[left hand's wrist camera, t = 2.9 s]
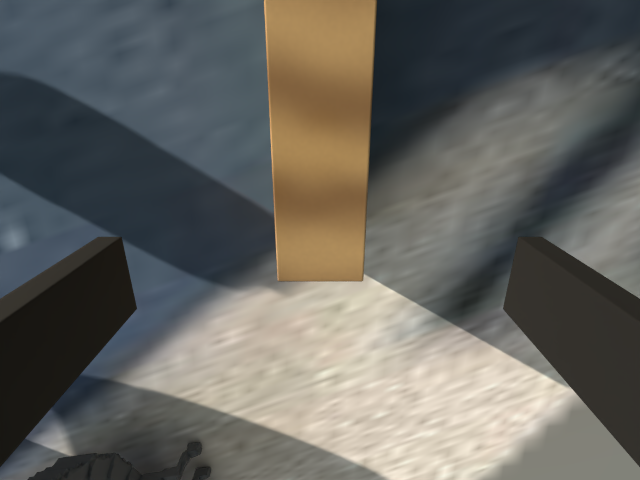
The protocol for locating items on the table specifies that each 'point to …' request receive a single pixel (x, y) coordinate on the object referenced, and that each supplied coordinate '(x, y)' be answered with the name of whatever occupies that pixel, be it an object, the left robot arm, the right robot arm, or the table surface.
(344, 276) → the beam
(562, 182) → the table surface
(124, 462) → the toy
